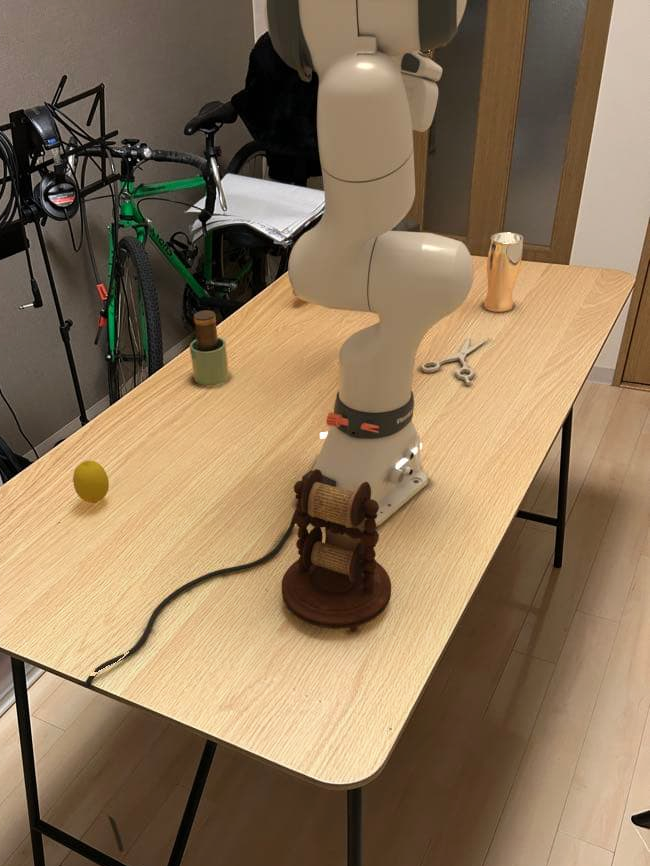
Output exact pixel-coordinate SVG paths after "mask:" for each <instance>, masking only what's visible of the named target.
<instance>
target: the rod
mask: <svg viewBox="0 0 650 866" xmlns="http://www.w3.org/2000/svg"><path fill="white" fill-rule="evenodd" d="M216 317H217V316H216V313H215V312H214V311H213V310H200V311H197V312H195V313H194V314H193V321H194V327H195V329H194V330H195V335H196V337H195V338H196V339H197V345H198V351H201V352H208V351H214V350H217V349H219V348H218V338H217V337H218V331H217V330H218V329H217V318H216Z"/></svg>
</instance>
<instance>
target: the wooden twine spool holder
mask: <svg viewBox="0 0 650 866" xmlns="http://www.w3.org/2000/svg"><path fill="white" fill-rule="evenodd" d="M312 470H313V469H312ZM322 482H323V478H322V473H321V471H320V470H318V469H315V470H313V471H312V472H311V473H310V474H309V475H308V477H307V479H306V481H302V480H298V481H296V482H295V484H294V485H293V492H294V493H295V499H296V501H297V502H296V505H295V510H296V509H297V511H296V513H295V515H294V521H295V525H296V527H297V528H298V530H297V532H296V533H297V534H296V535H297V538H298V539H297V540H296V543H295V545H296V549H298V551H297V554H298V559H297V560H296V561H295V562H293V563H292V564H291V565H289V567H288V568H287V570H285V573H284V575H283V577H282V580H281V597H282V600H283V603H284V606H285V608H286V609H287V610H288V611H289V612H290V613H291V614H292V615H293V616H294V617H296V618H297V619H298V620H300V621H301V622H304V623H306V624H308V625H309V626H310V625H311V626H314V627H317V628H322V629H328V630H346V629H349V630H350V632H352V633H355V632H356V631H357V629H358V627H360V626H363V625H365V624H368V623H370V622H371V621H373V620H375V619H376V618H378V617H379V616H380V615H381V614H382V613H383V612H384V611H385V610H386V608H387V607H388V605H389V603H390V600H391V596H392V581H391V578H390V575H389V574H388V572H387V570H386V569H385V567H383V566H382V564H380V562H378V561H377V560H376V551H375V548H376V545H377V544H378V541H379V538H380V533H379V531H378V530H377V527H378V526H377V525H376V522H375V519H376V518H377V514H376V513H377V512H378V510H379V505H378V503H377V502H376V501H375V500H373V499H371V487H370V485H369V483H368V482H363V483H362V484H361V485H360V487H359V488H358V490H357V492H352V491H349V490H345V489H341V488H337V487H334V486H330V485H326V484H322ZM323 519H324V520H323ZM310 525H311V527H312V529H311V530H310V531H309V530H308V527H309V526H310ZM322 528H324V533H325V534H323V529H322ZM323 535H325V536H323ZM323 537H325V538H324V542H323Z"/></svg>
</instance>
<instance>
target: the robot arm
mask: <svg viewBox="0 0 650 866" xmlns="http://www.w3.org/2000/svg"><path fill="white" fill-rule="evenodd" d="M467 1H468V0H264V9H263V10H264V20H265V25H266V29H267V32H268V35H269V37H270V41H271V44H272V48H273V49H274V51H275V52H276V54H277V55H278V56H279V57H280V58H281V60H282V61H283V62H284V63H285V64H286V65H287V66H288V67H290V68H292V69H293V70H295V71H297V73H298V76H299V78H300V80H302V81H303V82H307V83H310V82H311V81H312V75H313V72H314V73H316V74H317V77H318V88H317V89H318V90H317V101H316V102H317V103H316V107H317V108H316V132H317V133H316V135H317V145H318V153H319V163H320V168H321V175H322V183H323V192H324V210H323V214H322V216H321V219H320V220H319V221H318V223H316V225H314V226H313V227H312V228H311V229H309V230H307V231H306V232H304V233H303V234H302V235H301V236H299V238H298V239H297V240H296V242H295V244H294V245H293V247H292V249H291V252H290V255H289V258H288V264H287V265H288V266H287V273H288V279H289V284H290V286H291V288H292V291H293V290H294V292H295V294H296V295H297V296H298V297H297V296H296V297H297V298H298V299H299V300H301V301H303V302H307V303H310V304H313V305H315V306H319V307H323V308H326V309H329V310H338V311H339V310H342V311H352V312H360V313H361V312H362V313H372V314H376V315H377V316H378V318H379V319H378V322H377V323H375V324H372V325H370V326H367V327H363V328H362V329H360V330H358V331H356V332H354V333H353V334H351V335H349V336H348V338H347V339H346V340H345V341H344V342H343V343H342V345H341V347H340V350H339V353H338V390H337V392H336V396H335V400H334V403H333V412H332V411H330V412H329V413H328V414H327V416H326V421H325V423H326V425H327V426H329V428H328V431H325V432H319V439H324V441H323V444H322V446H321V447H320V450H319V454H318V456H317V458H316V461H315V463H314V466H313V468H312V469H310V470H309V471H308V472H306V473H305V474H303V475H302V476H301V481H306V479H307V477H308V475H309V474H310V473H311V472H312V471H313V470H315V469H318V470H320V471H321V473H322V478H323V482H322V484H326V485H330V486H334V487H337V488H341V489H345V490H349V491H352V492H357V490H358V488H359V487H360V485H361V484H362V483H363V482H368V483H369V485H370V487H371V499H373V500H375V501H376V502H377V503H378V505H379V510H378V512H377V513H376V514H377V518H376V519H375V522H376V525H377V527H380V526H381V525H382V524H383V523H384V522H385V521H387V520H388V519H389V518H390V517H391V516H393V514H394V513H396V512H397V511H398V510H400V508H402V507H403V506H404V505H405V504H406V503H407V502H409V501H410V500H411V499H412V498H413V497H414V496H415V495H417V493H419V492H420V491H422V490H423V488H425V487H426V486H427V485H428V483H429V480H428V475H427V474H426V473H425V472H424V471H423V470H421V449H422V447H423V443H421V436H420V434H419V432H418V431H417V429H416V427H415V425H414V423H413V420H412V419H413V417H414V410H415V399H414V397H415V396H414V392H413V390H412V389H413V387H412V386H413V377H414V369H415V363H416V357H417V352H418V349H419V347H420V345H421V343H422V341H423V339H424V338H425V337H426V335H427V334H428V332H429V331H430V330H431V329H432V328H433V327H434V326H435V325H436V324H438V323H439V322H440V321H442V320H443V319H444V318H446V317H448V316H451V314H453V313H454V312H456V311H457V310H458V309H459V308H460V307H461V306H462V305H463V304H464V303H465V301H466V300H467V299H468V296H469V294H470V292H471V290H472V287H473V283H474V278H475V269H474V262H473V258H472V255H471V253H470V251H469V249H468V247H467V246H466V244H465V243H464V242H463V241H461V240H457V239H454V238H451V237H448V236H443V235H440V234H436V233H431V232H421V231H420V232H404V231H390V230H391V229H393V228H394V227H395V226H396V225H397V224H398V223H399V222H400V221H401V220H402V219H405V217H406V216H407V215H408V213H409V212H410V210H411V209H412V206H413V205H414V200H415V197H416V176H415V175H416V174H415V153H414V135H413V131H416V132H420V133H425V132H426V131H427V130H428V129H430V127H431V126H432V123H433V120H434V117H435V113H436V109H437V104H438V101H439V100H438V98H439V87H438V84H437V83H436V82H438V81H440V80H441V78H442V74H443V67H441V65H439V64H438V63H436V62H435V61H434V60H432V59H431V58H429V56H427V55H426V54H424V53H426V52H429V51H432V50H435V49H438V48H441V47H443V46H445V45H448V44H449V43H451V41H452V40H453V38H454V37H455V36H456V35H457V33H458V31H459V30H458V29H459V25H460V23H461V21H462V19H463V16H464V13H465V11H466V7H467ZM296 511H297V509H296V508H295V510H294V512H293V514H292V517H291V520H290V524H289V526H288V528H287V529H286V531H285V533H284V534H283V536H282V537H281V539H280V541H279V543H278V544H277V546H275V547H274V548H273V549H272V550H271V551H270V552H269V553H267V554H266V555H264V556H262V557H261V558H259V559H257V560H254V561H251V562H248V563H245V564H241V565H236V566H232V567H225V568H221V569H217V570H214V571H211V572H209V573H206V574H203V575H202V576H199V577H197V578H195V579H193V580H191V581H189V582H187V583H185V584H183V585H181V586H180V587H179V588H177V589H175V590H174V591H173V592H172V593H170V594H169V595H168V596H166V597H165V599H163V600H162V601H161V602H160V603H159V604H158V605H157V606H156V607H155V609H154V610H153V612H151V615H150V618H149V620H148V622H147V624H146V627H145V629H144V630H143V631H144V632H143V633H142V635H141V637H140V638H139V639H138V641H137V642H136V643H135V644H134V646H133V647H131V648H130V649H129V650H127V651H126V652H128V651H129V653H128V654H127V655H126V656H125V657H124V658H123V659H121V660H120V661H118V660H119V659H120V658H122V657H123V656H124V653H122V654H120V655H118V656H117V655H116V657H113V658H111V659H109V660H106V661H105V662H103V663H101V664H100V665H98V666H97V667H96V668H94V670H95V671H94V670H93V671H94V672H98V671H99V670H101V669H103V668H105V667H106V666H108V665H110V666H108V667H111V666H113V665H114V664H113V663H115V662H116V663H115V664H117V663H119V662H121V661H123V660H124V661H125V660H126V659H128V658H129V657H131V656H132V655H134V654H135V653H136V652H138V650H139V649H140V648H141V647H142V646H143V645H144V643H145V642H146V641H147V639H148V637H149V635H150V633H151V631H152V628H153V625H154V623H155V621H156V619H157V617H158V615H159V614H160V612H161V611H162V610H163V609H164V608H165V606H166V605H167V604H169V603H170V602H171V601H172V600H174V598H176V597H178V595H180V594H181V593H183V592H184V591H186V590H188V589H190V588H191V587H193V586H195V585H198V584H200V583H202V582H205V581H207V580H209V579H211V578H214V577H217V576H220V575H224V574H229V573H235V572H239V571H240V572H241V571H244V570H248V569H251V568H255V567H257V566H259V565H261V564H264V563H265V562H266V561H268V560H270V559H271V558H272V557H274V556H275V555H276V554H278V553H279V551H281V549H282V547H283V546H284V545H285V543H286V542H287V540H288V539H289V537H290V535H292V532H293V530H294V528H295V525H296V523H295V521H294V515H295V513H296ZM323 520H324V519H323ZM117 661H118V662H117ZM111 664H112V665H111ZM108 667H107V668H108ZM105 669H106V668H105ZM103 670H104V669H103ZM97 675H98V674H96V675H95V676H90V674H89V676H88V677H87V678H86V680H85V682H84V683H83V688H89V687H90V686H91V684H92V682H93V681H94V679H95V678H96V677H97ZM107 817H108V821H109V823H110V825H111V829H112V833H113V835H114V838H115V841H116V845H117V849H118V851H119V852H120V853H122V852H124V850H125V849H124V846H123V841H122V838H121V835H120V832H119V829H118V825H117V822H116V820H115V819H114V818H113V817H112V816H111V815H109V814H107Z"/></svg>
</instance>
